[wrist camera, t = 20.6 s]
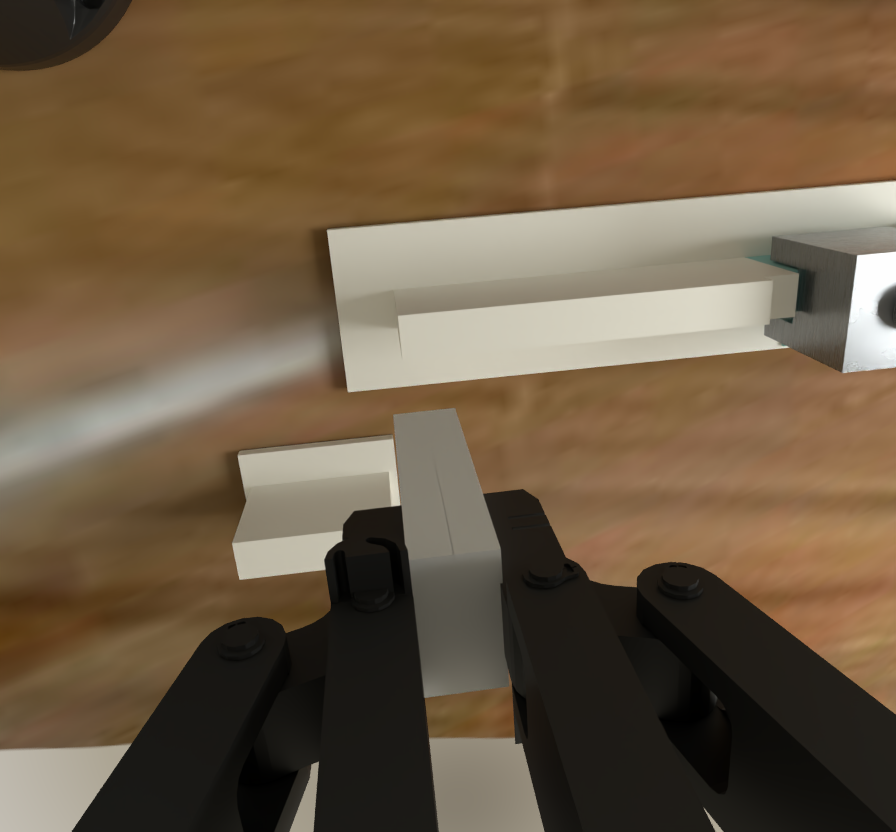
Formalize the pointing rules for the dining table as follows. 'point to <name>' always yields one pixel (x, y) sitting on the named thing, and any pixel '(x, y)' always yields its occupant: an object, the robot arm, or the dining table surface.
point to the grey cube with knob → (841, 297)
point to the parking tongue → (308, 500)
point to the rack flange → (577, 283)
